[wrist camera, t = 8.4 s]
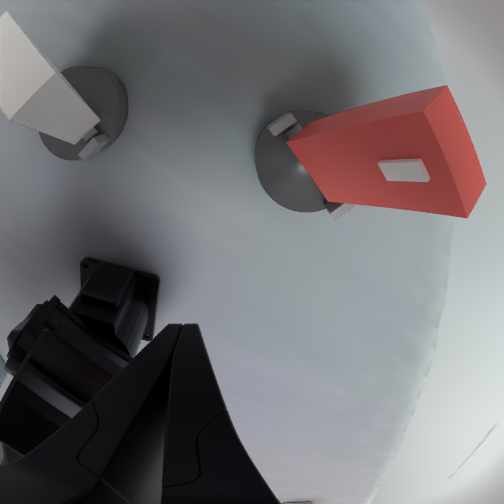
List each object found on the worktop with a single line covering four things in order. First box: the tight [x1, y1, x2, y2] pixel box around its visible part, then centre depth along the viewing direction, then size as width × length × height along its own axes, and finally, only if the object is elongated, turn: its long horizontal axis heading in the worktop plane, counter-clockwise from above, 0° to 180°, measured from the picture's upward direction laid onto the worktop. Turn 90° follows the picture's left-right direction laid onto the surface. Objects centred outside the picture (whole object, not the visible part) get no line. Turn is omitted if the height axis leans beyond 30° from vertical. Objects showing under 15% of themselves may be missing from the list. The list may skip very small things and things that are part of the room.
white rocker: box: [0, 12, 100, 145], centre depth 10 cm, size 2×5×10 cm, turn 38°
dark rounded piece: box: [255, 111, 354, 220], centre depth 17 cm, size 6×6×4 cm
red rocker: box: [285, 85, 486, 218], centre depth 12 cm, size 2×5×10 cm, turn 38°
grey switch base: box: [39, 66, 128, 161], centre depth 15 cm, size 6×6×4 cm
